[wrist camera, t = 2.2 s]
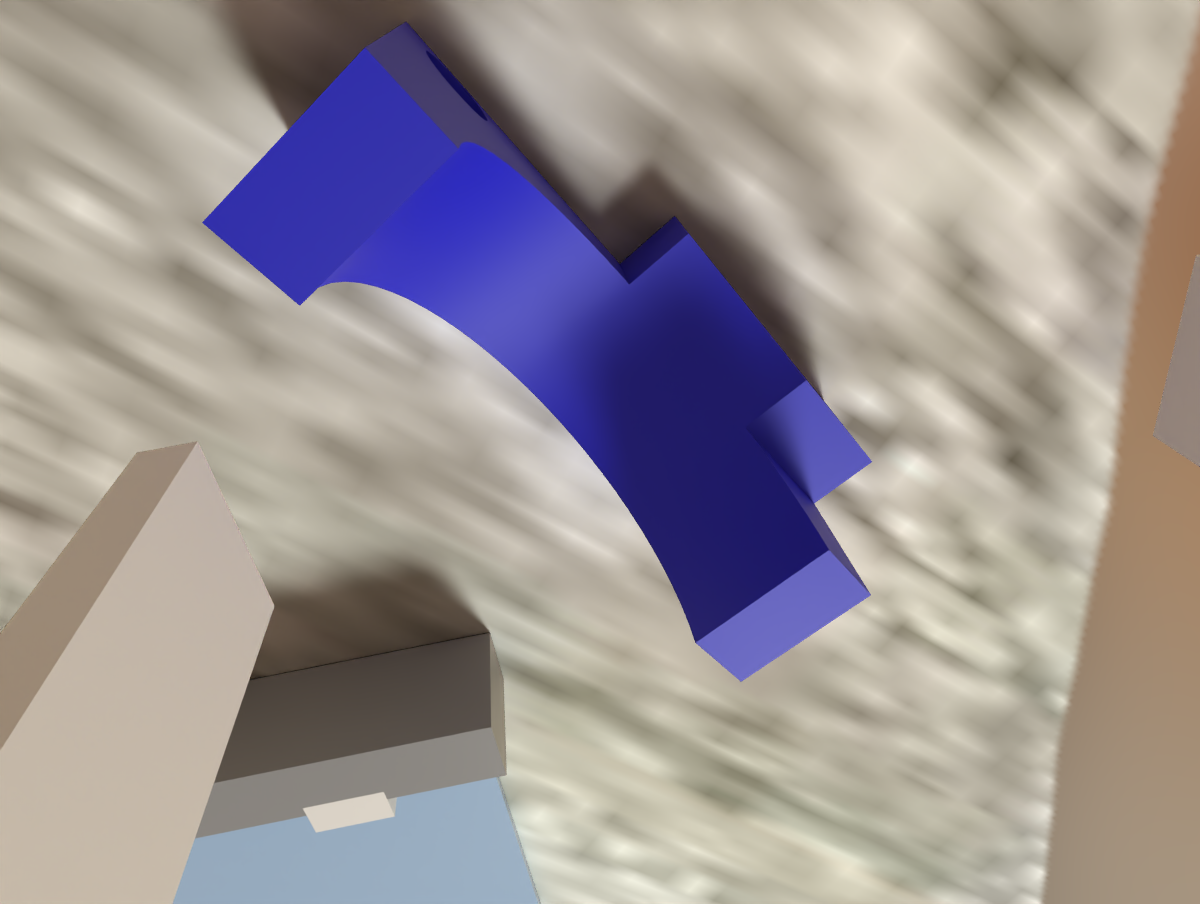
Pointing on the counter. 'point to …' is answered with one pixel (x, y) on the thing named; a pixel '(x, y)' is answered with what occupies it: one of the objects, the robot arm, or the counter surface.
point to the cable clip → (573, 336)
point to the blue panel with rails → (365, 788)
